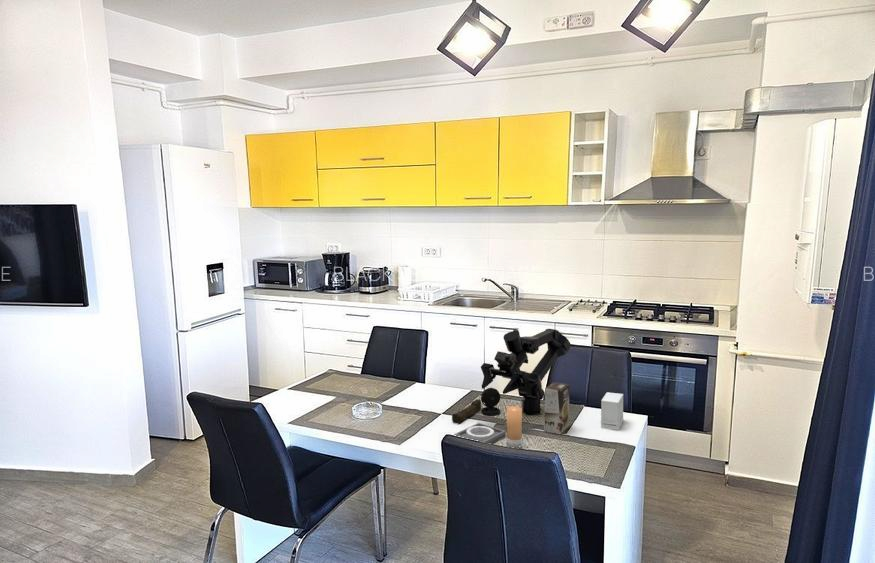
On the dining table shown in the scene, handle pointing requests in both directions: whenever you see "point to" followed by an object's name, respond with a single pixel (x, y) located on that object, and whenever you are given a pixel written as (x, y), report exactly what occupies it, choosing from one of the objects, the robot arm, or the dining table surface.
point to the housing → (482, 433)
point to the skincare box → (612, 411)
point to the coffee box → (556, 408)
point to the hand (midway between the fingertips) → (492, 390)
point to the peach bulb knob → (514, 426)
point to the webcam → (490, 401)
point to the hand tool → (467, 411)
